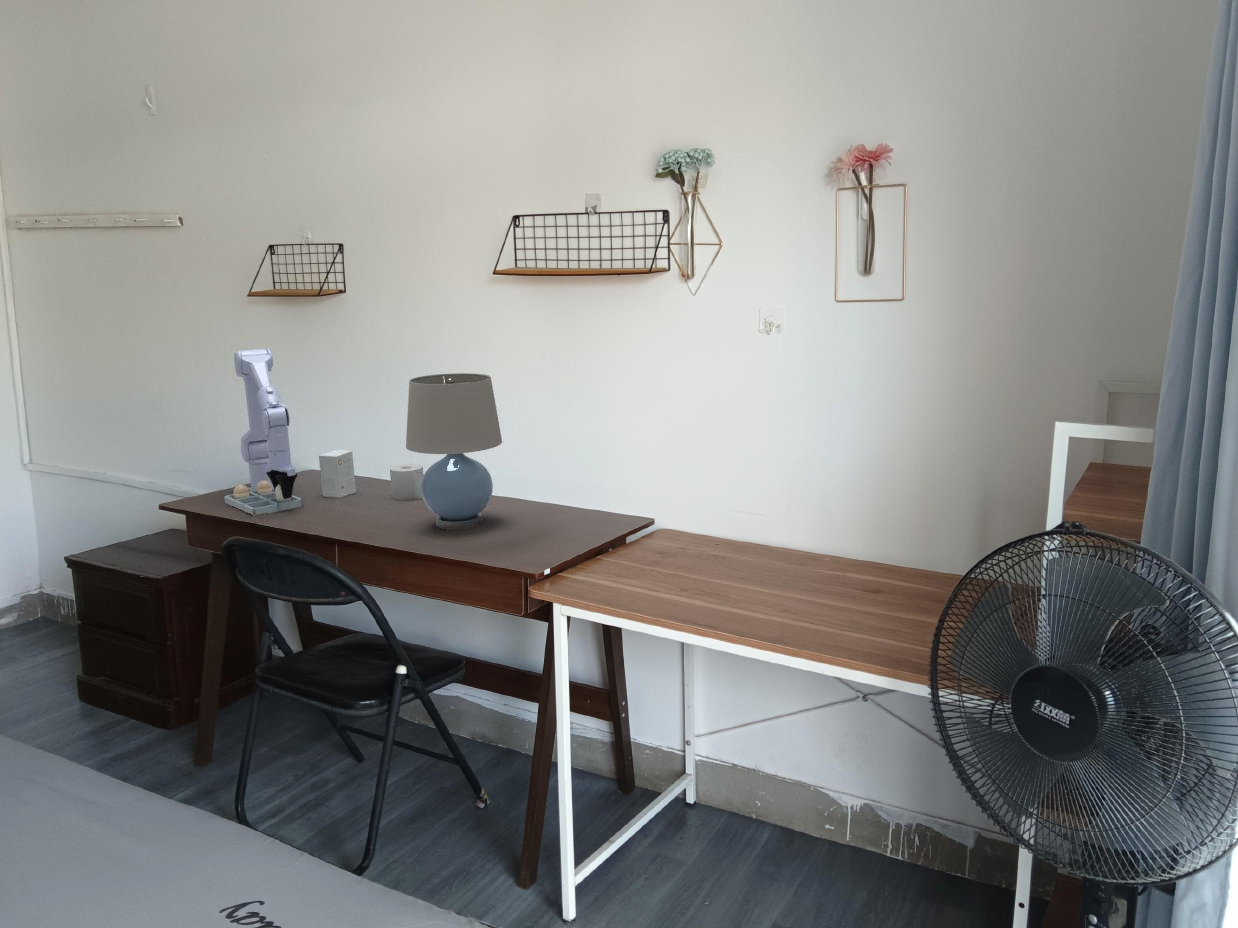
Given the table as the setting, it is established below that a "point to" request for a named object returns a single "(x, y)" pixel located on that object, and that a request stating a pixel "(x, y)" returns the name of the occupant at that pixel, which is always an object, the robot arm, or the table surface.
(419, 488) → the toilet tissue
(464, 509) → the lamp
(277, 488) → the cream egg
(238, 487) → the brown egg
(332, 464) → the small box
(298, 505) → the egg carton
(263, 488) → the brown egg
